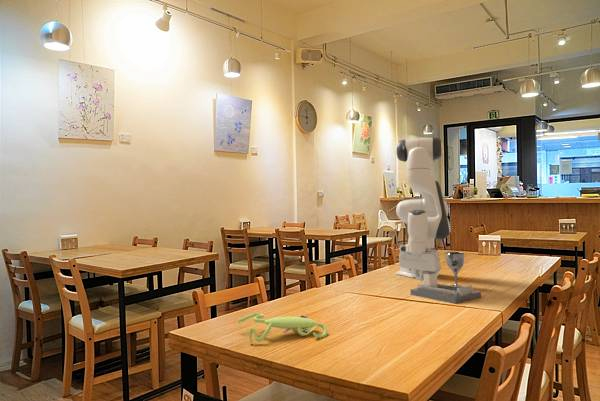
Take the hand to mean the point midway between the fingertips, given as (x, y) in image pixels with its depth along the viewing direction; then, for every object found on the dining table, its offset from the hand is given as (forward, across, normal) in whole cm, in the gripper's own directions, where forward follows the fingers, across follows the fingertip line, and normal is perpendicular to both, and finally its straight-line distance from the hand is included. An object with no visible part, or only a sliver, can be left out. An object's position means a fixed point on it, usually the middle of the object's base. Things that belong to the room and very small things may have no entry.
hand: (420, 280), depth 192 cm
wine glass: (+5, -4, -18) cm, 19 cm away
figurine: (+6, -12, +77) cm, 78 cm away
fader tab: (+2, -6, 0) cm, 6 cm away
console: (+5, -13, 0) cm, 13 cm away
